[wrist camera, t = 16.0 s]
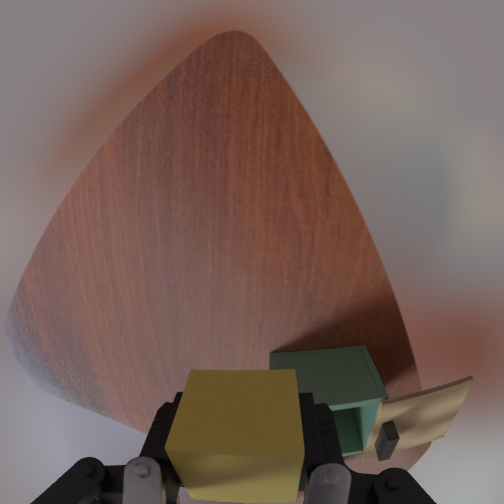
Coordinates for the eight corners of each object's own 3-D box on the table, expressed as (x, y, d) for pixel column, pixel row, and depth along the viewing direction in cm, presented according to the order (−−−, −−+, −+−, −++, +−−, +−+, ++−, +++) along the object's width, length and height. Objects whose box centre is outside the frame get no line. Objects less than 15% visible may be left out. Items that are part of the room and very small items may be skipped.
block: (190, 368, 10) (163, 448, 6) (295, 368, 10) (304, 453, 6) (206, 430, 11) (191, 498, 8) (292, 430, 11) (296, 502, 7)
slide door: (380, 400, 21) (389, 423, 18) (471, 375, 20) (484, 392, 17) (361, 455, 24) (366, 475, 21) (442, 433, 23) (450, 450, 20)
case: (269, 352, 30) (268, 410, 22) (364, 344, 30) (388, 396, 21) (272, 410, 33) (272, 463, 25) (354, 402, 32) (368, 452, 24)
